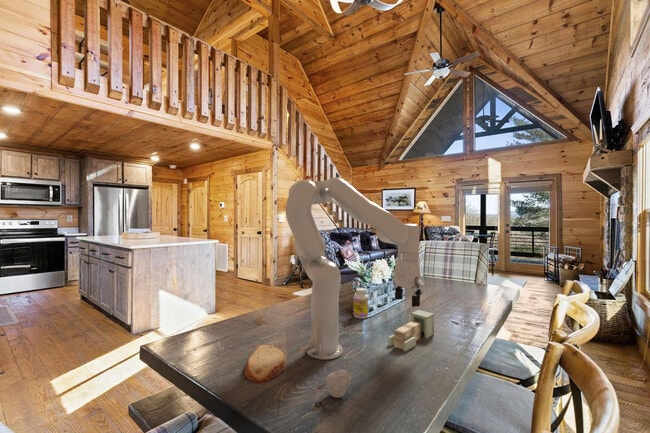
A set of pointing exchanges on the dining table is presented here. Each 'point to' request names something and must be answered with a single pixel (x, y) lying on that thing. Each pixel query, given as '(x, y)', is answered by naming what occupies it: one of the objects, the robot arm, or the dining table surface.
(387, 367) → the dining table surface
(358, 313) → the supplement bottle
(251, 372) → the slice of bread
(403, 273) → the robot arm
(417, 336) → the tan rectangular block
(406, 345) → the cradle
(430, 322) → the end cap
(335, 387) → the pale grey rounded lump
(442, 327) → the dining table surface
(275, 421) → the dining table surface
